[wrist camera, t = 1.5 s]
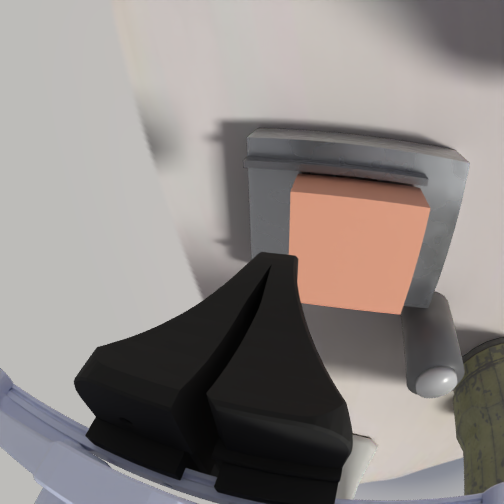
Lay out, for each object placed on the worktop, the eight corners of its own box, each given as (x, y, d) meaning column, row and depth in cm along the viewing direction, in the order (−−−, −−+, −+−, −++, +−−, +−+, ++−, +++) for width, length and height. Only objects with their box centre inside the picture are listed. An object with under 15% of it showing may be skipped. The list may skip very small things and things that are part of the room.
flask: (353, 428, 34) (342, 501, 26) (387, 444, 35) (381, 510, 27) (313, 442, 38) (299, 507, 30) (348, 456, 39) (338, 516, 31)
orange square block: (419, 187, 15) (430, 208, 13) (396, 286, 19) (400, 314, 17) (297, 173, 16) (290, 191, 14) (293, 274, 20) (286, 301, 18)
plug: (455, 293, 21) (476, 368, 15) (439, 330, 23) (450, 403, 17) (408, 288, 22) (419, 365, 16) (395, 327, 24) (399, 401, 18)
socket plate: (455, 150, 16) (474, 167, 13) (422, 285, 21) (429, 316, 18) (257, 127, 18) (242, 140, 16) (261, 266, 24) (249, 294, 21)
